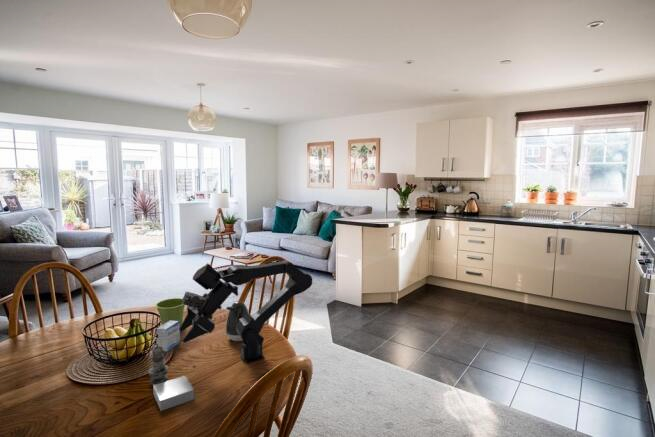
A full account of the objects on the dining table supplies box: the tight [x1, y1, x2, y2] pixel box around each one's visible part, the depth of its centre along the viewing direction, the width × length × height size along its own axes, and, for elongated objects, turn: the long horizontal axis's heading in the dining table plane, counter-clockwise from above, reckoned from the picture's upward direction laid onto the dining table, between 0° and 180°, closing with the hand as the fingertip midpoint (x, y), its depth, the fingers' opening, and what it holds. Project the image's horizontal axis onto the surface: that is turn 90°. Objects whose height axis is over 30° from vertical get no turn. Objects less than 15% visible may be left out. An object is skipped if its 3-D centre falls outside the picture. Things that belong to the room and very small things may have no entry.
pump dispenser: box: [224, 300, 250, 342], centre depth 142 cm, size 10×10×15 cm
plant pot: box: [155, 297, 186, 328], centre depth 151 cm, size 12×12×11 cm
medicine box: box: [156, 321, 181, 352], centre depth 135 cm, size 8×4×9 cm, turn 168°
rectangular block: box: [152, 375, 195, 412], centre depth 104 cm, size 9×9×3 cm
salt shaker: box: [147, 343, 169, 385], centre depth 113 cm, size 6×6×12 cm
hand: (181, 336), depth 115 cm, fingers open, 9 cm apart
